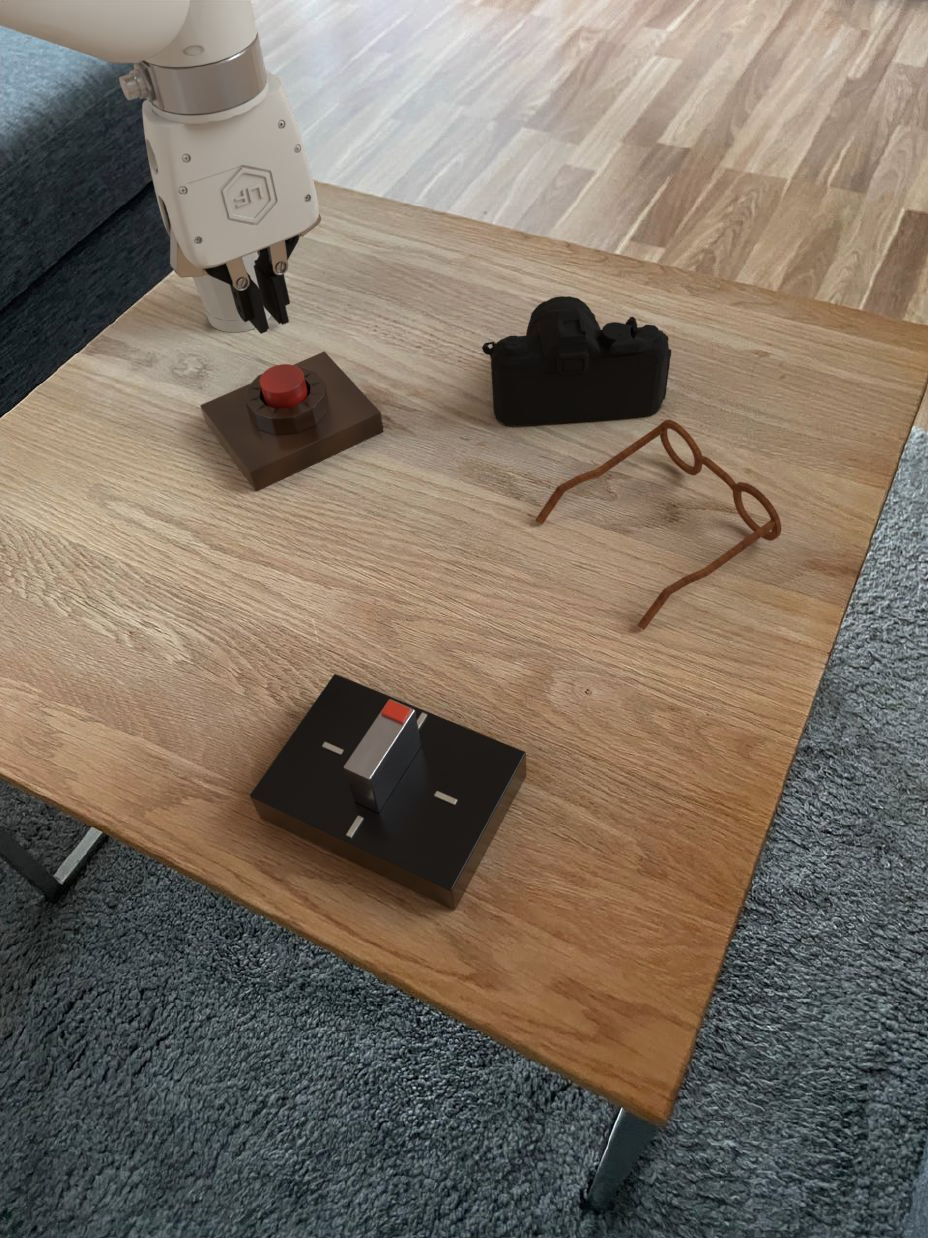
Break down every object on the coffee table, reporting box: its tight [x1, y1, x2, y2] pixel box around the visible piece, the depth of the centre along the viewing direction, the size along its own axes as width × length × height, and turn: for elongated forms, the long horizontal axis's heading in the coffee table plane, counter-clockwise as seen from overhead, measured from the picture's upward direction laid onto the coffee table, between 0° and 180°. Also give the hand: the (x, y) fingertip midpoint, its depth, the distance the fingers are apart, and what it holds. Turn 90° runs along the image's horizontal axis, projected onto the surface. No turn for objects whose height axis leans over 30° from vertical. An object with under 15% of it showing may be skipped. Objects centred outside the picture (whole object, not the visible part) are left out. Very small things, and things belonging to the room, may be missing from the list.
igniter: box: [199, 351, 384, 492], centre depth 85 cm, size 12×10×4 cm
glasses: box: [534, 419, 782, 631], centre depth 75 cm, size 13×13×5 cm
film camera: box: [481, 295, 672, 427], centre depth 84 cm, size 15×10×9 cm, turn 92°
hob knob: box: [344, 699, 421, 813], centre depth 61 cm, size 5×2×4 cm, turn 152°
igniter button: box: [260, 363, 307, 409], centre depth 83 cm, size 4×4×2 cm
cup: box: [191, 252, 272, 333], centre depth 93 cm, size 8×8×12 cm
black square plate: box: [249, 673, 527, 911], centre depth 64 cm, size 14×10×3 cm
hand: (266, 318), depth 78 cm, fingers closed
